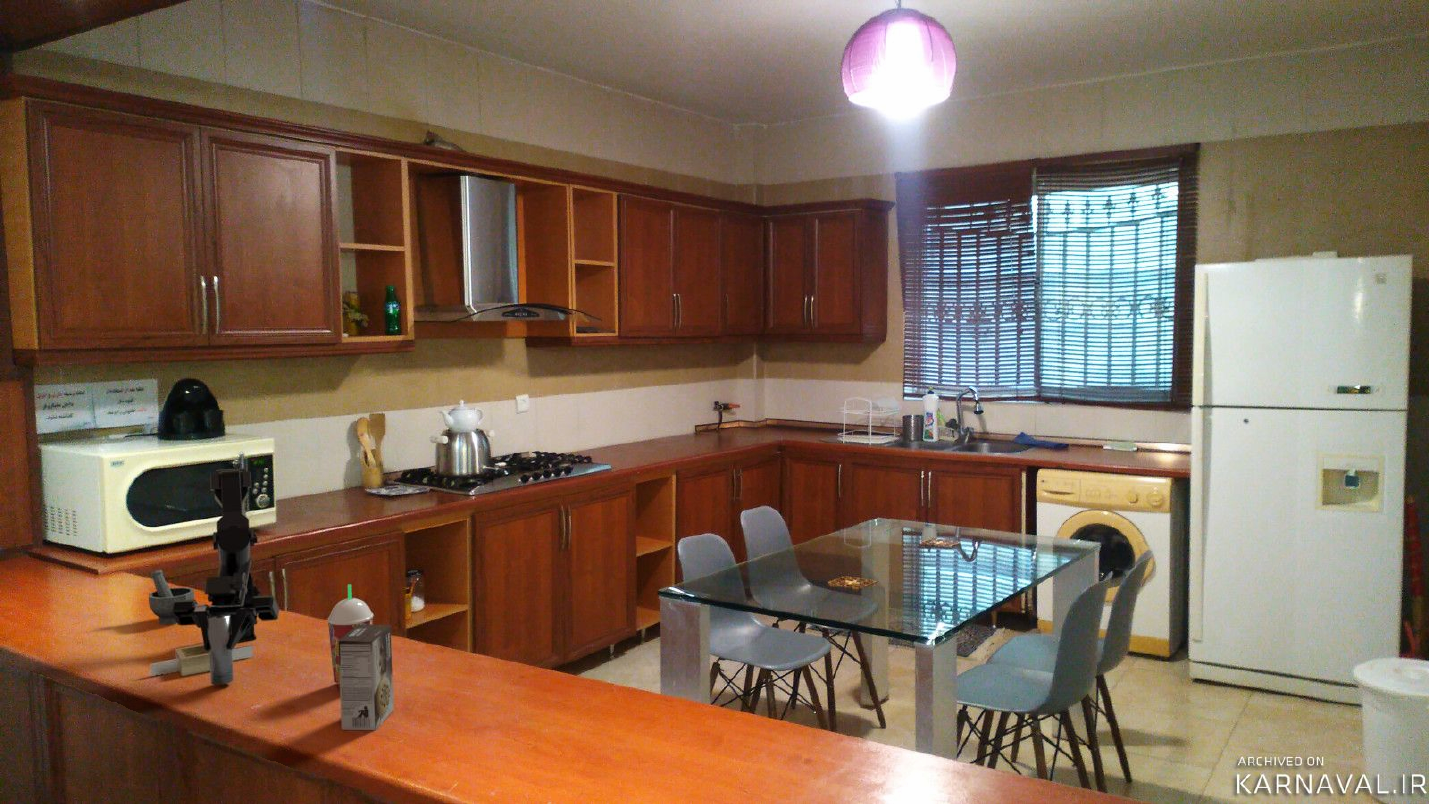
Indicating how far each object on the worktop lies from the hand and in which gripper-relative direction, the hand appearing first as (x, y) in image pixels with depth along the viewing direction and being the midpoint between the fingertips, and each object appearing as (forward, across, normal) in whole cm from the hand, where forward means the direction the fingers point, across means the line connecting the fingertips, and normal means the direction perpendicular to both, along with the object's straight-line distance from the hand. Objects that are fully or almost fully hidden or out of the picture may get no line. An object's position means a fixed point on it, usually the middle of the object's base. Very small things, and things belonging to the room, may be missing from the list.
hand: (218, 649), depth 189 cm
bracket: (-4, -8, +15) cm, 18 cm away
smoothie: (+8, +25, +3) cm, 27 cm away
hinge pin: (+4, 0, +6) cm, 7 cm away
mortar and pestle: (-29, -25, +41) cm, 56 cm away
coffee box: (+21, +31, -10) cm, 39 cm away
